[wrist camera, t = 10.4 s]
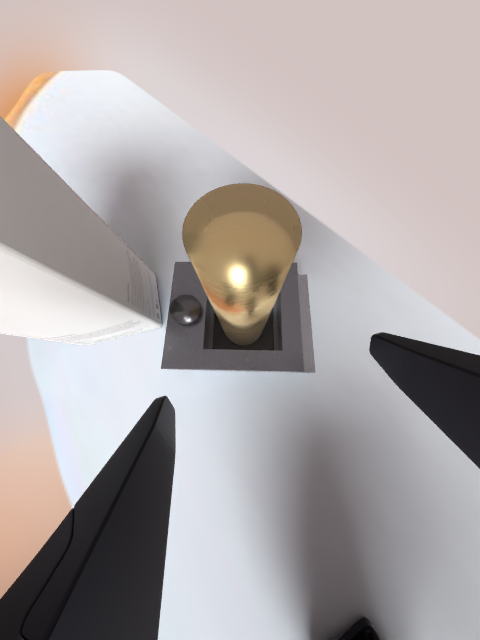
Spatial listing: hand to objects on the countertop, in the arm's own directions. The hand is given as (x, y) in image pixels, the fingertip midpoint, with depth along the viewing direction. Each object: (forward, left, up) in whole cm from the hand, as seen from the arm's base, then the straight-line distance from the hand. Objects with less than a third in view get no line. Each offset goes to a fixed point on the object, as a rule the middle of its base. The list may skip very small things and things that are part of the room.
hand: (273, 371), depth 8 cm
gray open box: (+5, -1, -10) cm, 11 cm away
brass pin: (+5, -1, -10) cm, 11 cm away
